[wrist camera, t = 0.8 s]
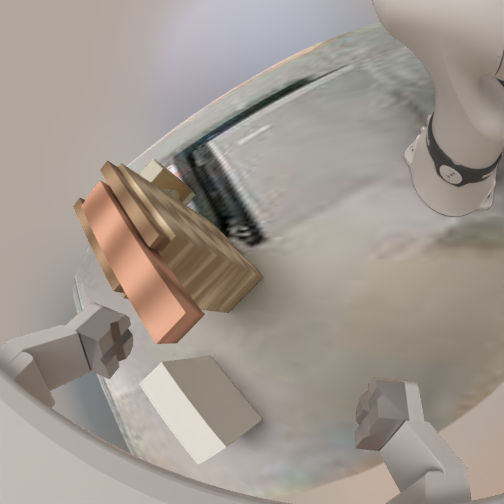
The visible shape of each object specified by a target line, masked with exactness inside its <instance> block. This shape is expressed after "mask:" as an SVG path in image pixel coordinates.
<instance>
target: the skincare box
mask: <svg viewBox="0 0 504 504" xmlns="http://www.w3.org/2000/svg"><path fill="white" fill-rule="evenodd" d="M139 175H140V176H142V177H143V178H145V179H146V180H148V181H149V182H151V183H152V184H154V185H155V186H157V187H159V188H160V189H162V190H163V191H165V192H166V193H168V194H169V195H171V196H172V197H174V198H175V199H177V200H178V201H180V202H182V203H183V204H185V205H187V204H188V203H189V202H190V201H191V199H192V198H193V197H194V196H195V194H194V193H193V191H192V190H191V189H190V188H189V187H188V186H187V185H186V184H185V183H183V182H182V181H181V180H180V179H179V178H177V177H176V176H175V175H174V174H172V173H171V172H170V171H169V170H167V169H166V168H165V167H164V166H163V165H161V164H160V163H159V162H158V161H157V160H155V159H152V161H151V162H150V163H149V164H148V165H147V166H146V167H145V168H144V169H143V170H142V171H141V173H140V174H139Z"/></svg>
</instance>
